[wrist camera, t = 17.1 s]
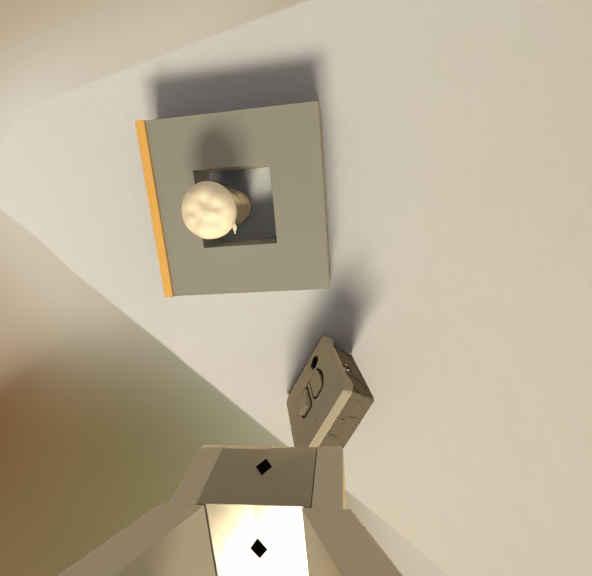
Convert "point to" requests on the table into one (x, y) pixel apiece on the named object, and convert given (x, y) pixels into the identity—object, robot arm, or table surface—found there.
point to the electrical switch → (327, 398)
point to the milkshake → (214, 209)
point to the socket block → (234, 156)
